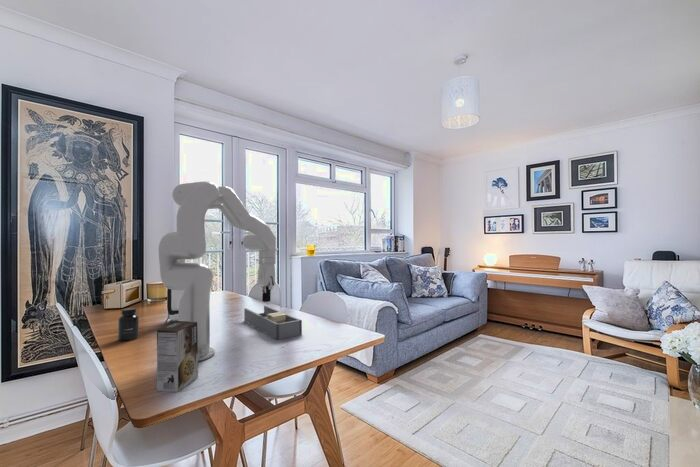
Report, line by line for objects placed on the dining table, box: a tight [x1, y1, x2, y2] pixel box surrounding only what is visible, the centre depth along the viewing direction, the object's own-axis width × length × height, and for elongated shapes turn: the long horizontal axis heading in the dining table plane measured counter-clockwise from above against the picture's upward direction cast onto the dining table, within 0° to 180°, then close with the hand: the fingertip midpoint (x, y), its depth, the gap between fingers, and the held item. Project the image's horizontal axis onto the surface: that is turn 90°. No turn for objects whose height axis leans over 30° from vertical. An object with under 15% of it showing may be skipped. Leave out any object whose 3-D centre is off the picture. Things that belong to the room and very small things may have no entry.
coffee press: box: [164, 288, 184, 325], centre depth 156 cm, size 17×16×30 cm
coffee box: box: [156, 321, 199, 393], centre depth 88 cm, size 9×6×16 cm
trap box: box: [243, 305, 303, 341], centre depth 144 cm, size 38×11×6 cm, turn 37°
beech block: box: [267, 311, 287, 324], centre depth 141 cm, size 6×6×4 cm
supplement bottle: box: [117, 307, 140, 342], centre depth 129 cm, size 7×7×12 cm
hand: (266, 301), depth 146 cm, fingers closed
